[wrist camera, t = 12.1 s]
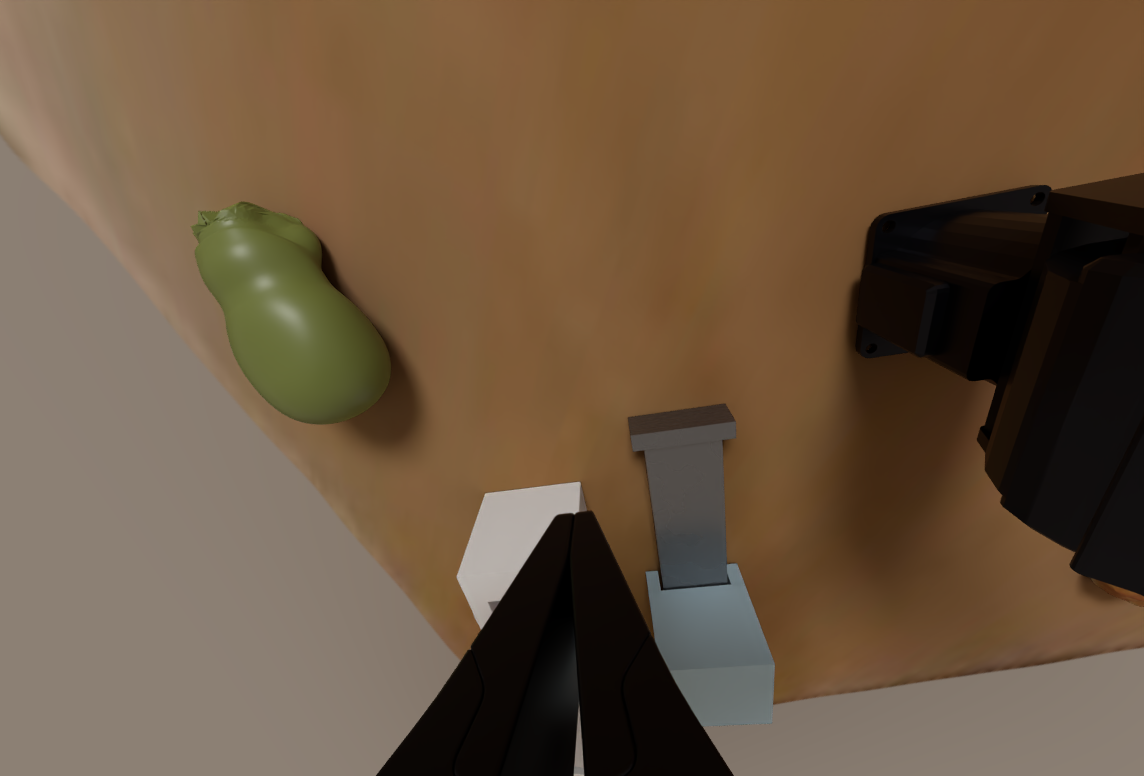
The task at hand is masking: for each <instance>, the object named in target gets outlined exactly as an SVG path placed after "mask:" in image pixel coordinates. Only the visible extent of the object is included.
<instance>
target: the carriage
mask: <svg viewBox="0 0 1144 776" xmlns="http://www.w3.org/2000/svg"><path fill="white" fill-rule="evenodd" d="M646 577H647V585H648V592H649V599H650V607H651V614H652V621H653V629H654V636H655V642H656V644H657V647H658V649H659V651H660V653H661V655H662V657H663V659H664V661H665V663H666V665H667V667H668V669H669V670H670V672H671V674H672V676H673V678H674V680H675V682H676V684H677V685H678V687H679V689H680V691H681V692H682V694H683V696H684V697H685V699H686V701H687V702H688V704H689V706H690V707H691V709H692V711H693V712H694V714H695V716H696V717H697V719H698V720H699V722H700V723H701V725H702V727H703V726H725V725H747V724H771V723H772V713H773V692H774V670H775V663H774V661H773V658H772V655H771V653H770V650H769V647H768V645H767V642H766V640H765V637H764V634H763V632H762V629H761V626H760V624H759V621H758V618H757V616H756V613H755V610H754V608H753V605H752V602H751V600H750V597H749V594H748V592H747V589H746V586H745V584H744V581H743V579H742V576H741V573H740V571H739V568H738V565H737V563H736V564H727V584H728V585H720V586H708V587H697V588H685V589H674V590H662V591H661V588H660V582H659V576H658V571H650V572H646Z"/></svg>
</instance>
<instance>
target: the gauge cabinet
mask: <svg viewBox="0 0 1144 776" xmlns="http://www.w3.org/2000/svg"><path fill="white" fill-rule="evenodd" d="M582 511H587V508H586V504H585V500H584V495H583V491H582V487H581V483H580V482H574V483H565V484H557V485H549V486H541V487H533V488H525V489H517V490H509V491H501V492H493V493H485V496H484V499H483V502H482V504H481V507H480V510H479V513H478V516H477V519H476V522H475V525H474V528H473V531H472V534H471V537H470V539H469V542H468V545H467V548H466V551H465V554H464V557H463V560H462V563H461V566H460V569H459V572H458V574H457V579H458V581H459V583H460V586H461V588H462V590H463V592H464V594H465V596H466V598H467V601H468V603H469V605H470V607H471V609H472V611H473V614H474V617H475V619H476V621H477V623H478V624H479V626H480V628H481V629H482V628H483V626H484V625H485V623H486V622H487V620H488V619H489V617H490V616H491V614H492V612H493V611H494V609H495V608H496V606H497V605H498V603H499V602H500V600H501V599H502V597H503V596H504V594H505V592H506V591H507V589H508V588H509V586H510V585H511V583H512V582H513V580H514V579H515V577H516V576H517V574H518V572H519V571H520V569H521V568H522V566H523V565H524V563H525V562H526V560H527V559H528V557H529V556H530V554H531V552H532V551H533V549H534V548H535V546H536V545H537V543H538V542H539V540H540V539H541V537H542V536H543V534H544V532H545V531H546V529H547V528H548V526H549V525H550V523H551V522H552V520H553V519H554V517H555V516H556V515H558V514H564V513H573V514H574V515H575V513H576V512H582Z"/></svg>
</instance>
